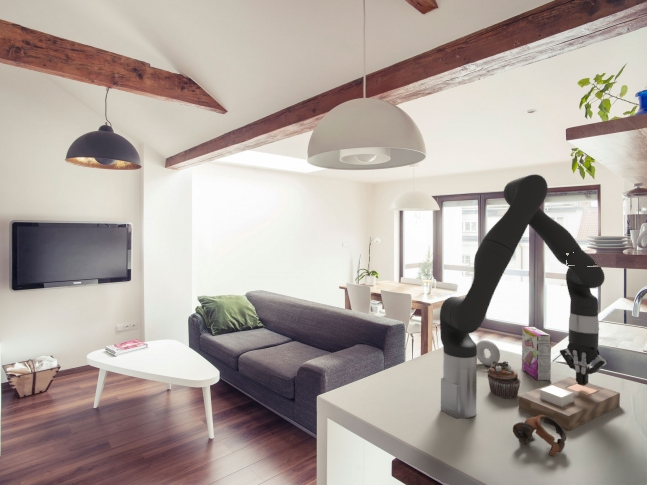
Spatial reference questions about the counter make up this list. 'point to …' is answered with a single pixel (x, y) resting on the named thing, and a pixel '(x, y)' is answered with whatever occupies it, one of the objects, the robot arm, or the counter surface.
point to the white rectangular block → (556, 395)
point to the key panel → (571, 404)
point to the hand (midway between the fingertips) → (582, 384)
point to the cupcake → (503, 380)
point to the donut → (493, 351)
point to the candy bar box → (536, 353)
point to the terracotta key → (582, 389)
